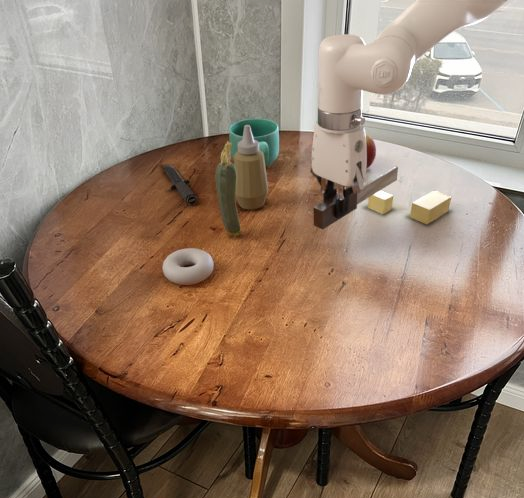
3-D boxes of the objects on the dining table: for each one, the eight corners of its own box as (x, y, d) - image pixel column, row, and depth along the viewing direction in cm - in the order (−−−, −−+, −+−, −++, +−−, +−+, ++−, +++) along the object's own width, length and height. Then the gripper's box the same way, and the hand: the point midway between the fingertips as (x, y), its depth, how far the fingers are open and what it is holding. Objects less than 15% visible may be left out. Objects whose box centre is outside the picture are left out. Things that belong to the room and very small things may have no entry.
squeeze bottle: (274, 199, 127) (272, 121, 115) (260, 215, 122) (256, 135, 109) (243, 193, 130) (238, 116, 117) (228, 209, 124) (221, 130, 112)
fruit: (364, 178, 133) (367, 146, 127) (331, 171, 136) (332, 140, 131) (380, 163, 138) (383, 132, 133) (347, 157, 142) (350, 126, 137)
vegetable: (225, 242, 114) (216, 149, 100) (218, 232, 117) (208, 141, 103) (244, 237, 115) (238, 144, 101) (237, 227, 118) (229, 136, 104)
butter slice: (391, 209, 121) (393, 195, 119) (383, 214, 120) (385, 200, 117) (375, 203, 124) (377, 188, 121) (367, 207, 122) (368, 193, 120)
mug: (229, 156, 145) (226, 120, 139) (275, 151, 146) (274, 115, 140) (236, 183, 133) (233, 146, 127) (286, 178, 134) (285, 140, 128)
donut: (217, 285, 103) (211, 255, 110) (215, 270, 101) (210, 241, 108) (165, 292, 102) (162, 262, 109) (162, 277, 100) (160, 247, 107)
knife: (200, 200, 126) (192, 192, 124) (184, 213, 127) (177, 205, 125) (178, 159, 143) (172, 151, 141) (165, 170, 144) (158, 163, 142)
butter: (448, 211, 120) (451, 196, 117) (426, 224, 116) (429, 209, 113) (431, 204, 122) (433, 190, 120) (409, 217, 118) (412, 202, 116)
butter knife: (400, 181, 115) (402, 163, 112) (322, 229, 104) (322, 211, 101) (391, 178, 116) (392, 160, 113) (313, 225, 106) (313, 207, 103)
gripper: (390, 121, 91) (380, 219, 104) (320, 101, 100) (318, 193, 113) (361, 135, 88) (354, 234, 100) (291, 112, 97) (293, 206, 109)
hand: (335, 212), depth 106 cm, fingers closed on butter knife, 2 cm apart
